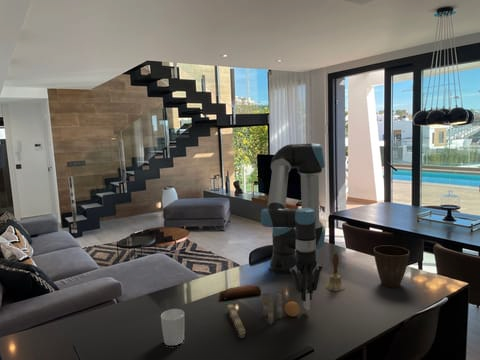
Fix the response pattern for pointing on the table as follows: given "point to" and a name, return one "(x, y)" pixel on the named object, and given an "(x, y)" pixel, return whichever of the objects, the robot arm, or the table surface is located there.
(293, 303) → the ball
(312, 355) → the table surface
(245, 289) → the sunglasses case
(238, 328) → the grey long bar
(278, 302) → the front pin
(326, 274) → the table surface
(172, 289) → the table surface
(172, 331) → the white cup
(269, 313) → the pin
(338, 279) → the hand bell
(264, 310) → the pin
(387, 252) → the plant pot
